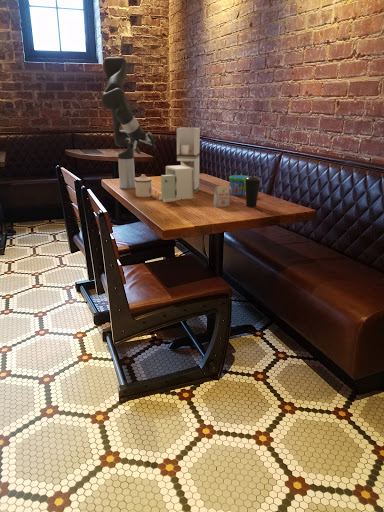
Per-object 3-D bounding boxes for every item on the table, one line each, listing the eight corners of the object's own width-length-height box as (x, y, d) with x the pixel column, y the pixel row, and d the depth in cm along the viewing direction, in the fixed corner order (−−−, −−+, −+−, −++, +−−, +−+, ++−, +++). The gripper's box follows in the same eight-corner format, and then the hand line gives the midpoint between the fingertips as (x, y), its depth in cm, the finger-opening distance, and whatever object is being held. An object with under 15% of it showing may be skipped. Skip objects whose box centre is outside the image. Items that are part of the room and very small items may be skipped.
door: (161, 200, 212) (161, 175, 207) (172, 199, 214) (171, 174, 210) (165, 201, 208) (164, 176, 203) (175, 200, 211) (175, 175, 206)
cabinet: (152, 196, 219) (151, 167, 214) (182, 193, 227) (182, 165, 222) (164, 202, 207) (163, 170, 201) (194, 198, 215) (195, 168, 209)
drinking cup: (241, 204, 203) (243, 164, 196) (256, 204, 204) (259, 164, 197) (245, 208, 196) (247, 166, 189) (260, 207, 197) (263, 166, 190)
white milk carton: (213, 205, 201) (214, 185, 197) (226, 204, 203) (226, 184, 199) (216, 207, 197) (216, 187, 194) (229, 206, 199) (229, 186, 196)
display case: (181, 188, 242) (181, 127, 229) (199, 189, 240) (199, 127, 227) (177, 192, 231) (176, 128, 219) (195, 193, 229) (195, 128, 217)
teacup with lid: (153, 197, 219) (152, 175, 215) (136, 197, 217) (135, 176, 213) (150, 192, 230) (149, 172, 226) (134, 193, 228) (133, 172, 224)
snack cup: (223, 192, 231) (224, 174, 228) (240, 191, 235) (241, 173, 231) (235, 198, 217) (236, 179, 214) (253, 196, 221) (254, 178, 217)
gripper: (145, 117, 192) (160, 142, 205) (120, 125, 198) (136, 149, 210) (143, 128, 189) (158, 153, 201) (117, 135, 194) (133, 159, 206)
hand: (147, 151), depth 206 cm, fingers open, 8 cm apart
